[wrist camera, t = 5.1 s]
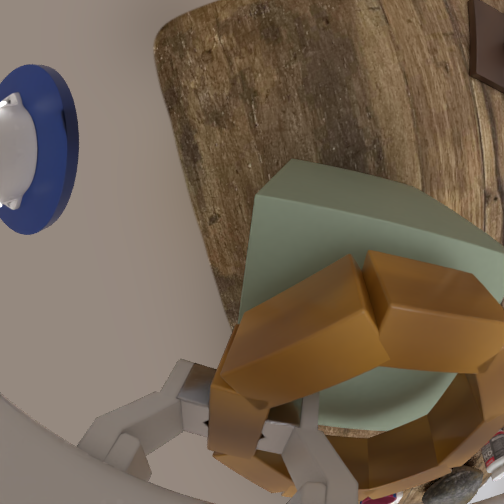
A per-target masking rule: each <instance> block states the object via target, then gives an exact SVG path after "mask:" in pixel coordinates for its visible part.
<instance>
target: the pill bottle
mask: <svg viewBox="0 0 504 504" xmlns="http://www.w3.org/2000/svg"><path fill="white" fill-rule="evenodd" d="M481 451H482V455H483V458H484V462H485V466H486V470H487V472H488V473H492V475H491V477H492V481H496V480H499V479H501V478H503V477H504V432H503V430H501V429H500V430H499V431H498V432H497V433H496V434H495V435H494V436H493V437H492V438H491V439H490V440H489V441H488V442H487V443H486V444H485V445H484V446H483V447H482V448H481Z"/></svg>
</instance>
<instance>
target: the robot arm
mask: <svg viewBox="0 0 504 504" xmlns="http://www.w3.org/2000/svg"><path fill="white" fill-rule="evenodd" d="M36 164H37V136H36V130H35V126H34V122H33V120H32V117H31V115H30V114H29V112H28V111H27V110H26V109H25V107H24V106H23V103H22V99H21V96H20V94H19V93H18V92H16V93H12V94H11V95H9V96H8V97H6V98H5V99H4V100H2V101H1V102H0V207H2V204H4V205H6V206H7V207H9V208H10V209H12V210H15V209H18V208H19V207H20V204H21V201H22V197H23V195H24V193H25V192H26V191H27V190H28V188H29V187H30V185H31V183H32V180H33V177H34V174H35V170H36ZM216 370H217V369H214V368H210V367H207V366H204V365H200V364H197V363H193V362H190V361H187V360H184V359H180V360H179V361H178V362H177V363H176V365H175V367H174V368H173V370H172V372H171V374H170V375H169V377H168V379H167V381H166V382H165V384H164V386H163V387H162V389H161V391H160V393H159V392H153V393H151V394H149V395H147V396H144V397H142V398H140V399H138V400H136V401H134V402H131V403H129V404H127V405H125V406H122V407H120V408H118V409H116V410H113V411H111V412H109V413H106V414H104V415H102V416H99V417H97V418H96V419H95V421H94V422H93V424H92V425H91V426H90V428H89V429H88V431H87V432H86V434H85V435H84V437H83V438H82V439H81V441H80V442H79V444H78V445H77V447H76V446H74V445H73V444H71V443H69V442H68V441H66V440H64V439H63V438H61V437H60V436H58V435H56V434H55V433H53V432H52V431H50V430H49V429H47V428H46V427H44V426H43V425H41V424H40V423H39V422H37V421H36V420H35V419H33V418H32V417H30V416H29V415H28V414H26V413H25V412H24V411H22V410H21V409H20V408H18V407H17V406H16V405H15V404H13V403H12V402H11V401H10V400H8V399H7V398H6V397H5V396H4V395H3V394H1V393H0V504H214V503H211V502H207V501H203V500H200V499H196V498H193V497H190V496H186V495H183V494H180V493H177V492H174V491H171V490H168V489H166V488H163V487H160V486H158V485H155V484H152V483H150V482H148V481H149V479H150V477H151V474H152V472H151V469H150V467H149V464H148V461H147V459H146V456H147V455H148V454H150V453H152V452H153V451H155V450H156V449H158V448H159V447H161V446H163V445H164V444H166V443H167V442H169V441H170V440H172V439H173V438H175V437H176V436H178V435H179V434H180V433H182V432H183V431H187V432H190V433H194V434H197V435H200V436H204V437H208V428H209V427H208V420H209V400H210V385H211V383H212V380H213V378H214V375H215V373H216ZM319 393H320V392H317V393H314V394H311V395H309V396H306V397H303V398H300V399H297V400H294V401H291V402H288V403H285V404H282V405H279V406H276V407H273V408H271V409H270V412H269V415H268V418H267V419H266V420H265V423H264V426H263V429H262V432H261V433H262V436H261V438H260V439H259V441H258V444H257V448H256V449H258V450H262V451H267V452H272V453H277V454H282V455H281V456H282V458H283V461H284V463H285V465H286V467H287V469H288V472H289V474H290V476H291V478H292V480H293V482H294V485H295V487H296V489H297V492H296V493H295V494H294V496H293V497H292V498H291V499H290V500H289V501H288V502H287V504H358V482H357V481H356V479H355V478H354V477H353V475H352V474H351V472H350V471H349V469H348V468H347V467H346V465H345V464H344V462H343V461H342V459H341V458H340V456H339V455H338V454H337V452H336V451H335V449H334V448H333V446H332V445H331V443H330V442H329V440H328V439H327V437H326V436H325V434H324V433H323V431H319V430H318V416H319ZM472 504H504V493H503V494H500V495H497V496H494V497H491V498H489V499H485V500H482V501H479V502H475V503H472Z"/></svg>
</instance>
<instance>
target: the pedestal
mask: <svg viewBox="0 0 504 504" xmlns="http://www.w3.org/2000/svg"><path fill="white" fill-rule="evenodd" d="M368 250H373V251H377V252H382V253H386V254H391V255H395V256H400V257H404V258H409V259H413V260H418V261H422V262H426V263H431V264H435V265H439V266H443V267H448V268H452V269H456V270H460V271H464V272H468V273H472V274H473V275H474V276H475V277H476V278H477V279H478V280H479V281H480V282H481V283H482V284H483V285H484V286H485V288H486V289H487V290H488V291H489V292H490V293H491V294H492V296H493V297H494V298H495V299H496V300H497V302H498V303H499V304H500V303H501V301H502V299H503V296H504V246H502V245H501V244H500V243H498V242H497V241H496V240H494V239H493V238H492V237H490V236H489V235H488V234H486V233H485V232H483V231H482V230H481V229H479V228H478V227H476V226H475V225H474V224H472V223H471V222H469V221H468V220H466V219H465V218H463V217H462V216H460V215H459V214H457V213H456V212H454V211H453V210H451V209H450V208H448V207H446V206H445V205H443V204H442V203H440V202H439V201H437V200H435V199H434V198H432V197H430V196H429V195H427V194H425V193H424V192H422V191H420V190H419V189H417V188H415V187H413V186H410V185H407V184H403V183H400V182H396V181H392V180H388V179H384V178H381V177H377V176H373V175H368V174H364V173H360V172H356V171H351V170H347V169H343V168H338V167H333V166H328V165H324V164H319V163H313V162H308V161H303V160H297V159H291V160H290V161H289V162H288V163H287V164H286V165H285V166H284V167H283V168H282V169H281V170H280V171H279V172H278V173H277V174H276V175H275V176H274V177H273V178H272V179H271V180H269V181H268V182H267V183H266V184H265V185H264V186H263V187H262V188H261V189H260V190H259V191H258V193H257V194H256V195H255V199H254V206H253V213H252V221H251V228H250V235H249V243H248V250H247V258H246V265H245V273H244V280H243V288H242V295H241V303H240V310H239V318H238V324H240V322H241V320H242V317H243V314H244V313H245V312H246V311H248V310H250V309H252V308H254V307H256V306H258V305H259V304H261V303H263V302H265V301H267V300H269V299H270V298H272V297H274V296H276V295H278V294H280V293H281V292H283V291H285V290H287V289H289V288H290V287H292V286H294V285H296V284H297V283H299V282H301V281H303V280H305V279H306V278H308V277H310V276H312V275H313V274H315V273H317V272H318V271H320V270H322V269H324V268H325V267H327V266H329V265H331V264H332V263H334V262H336V261H337V260H339V259H341V258H342V257H344V256H346V255H347V254H351V255H352V256H353V257H354V259H355V261H356V262H357V264H358V266H359V267H360V269H361V270H362V268H363V265H364V261H365V258H366V254H367V252H368ZM456 375H457V373H446V372H431V371H418V370H407V369H398V368H388V367H380V366H378V367H376V368H374V369H372V370H370V371H368V372H365V373H363V374H361V375H359V376H356V377H354V378H352V379H349V380H347V381H345V382H342V383H340V384H337V385H335V386H332V387H330V388H327V389H325V390H322V391H319V392H320V393H319V416H318V425H325V426H333V427H341V428H351V429H363V430H377V431H389V430H392V429H394V428H397V427H399V426H402V425H404V424H407V423H409V422H411V421H413V420H416V419H418V418H420V417H422V416H425V415H427V414H428V413H429V412H430V410H431V409H432V408H433V407H434V405H435V404H436V403H437V401H438V400H439V399H440V397H441V396H442V395H443V393H444V392H445V391H446V389H447V388H448V386H449V385H450V384H451V382H452V381H453V379H454V378H455V376H456Z"/></svg>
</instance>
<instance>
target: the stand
mask: <svg viewBox="0 0 504 504" xmlns="http://www.w3.org/2000/svg"><path fill="white" fill-rule="evenodd" d="M468 11H469V27H470V72H469V75H470V76H471V77H474V78H476V79H478V80H480V81H482V82H484V83H486V84H487V85H489V86H491V87H493V88H495V89H497V90H499V91H500V92H502V93H504V14H503V13H501V12H499V11H498V10H496V9H494V8H493V7H491V6H489V5H487V4H486V3H484V2H482V1H480V0H469V1H468Z"/></svg>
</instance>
